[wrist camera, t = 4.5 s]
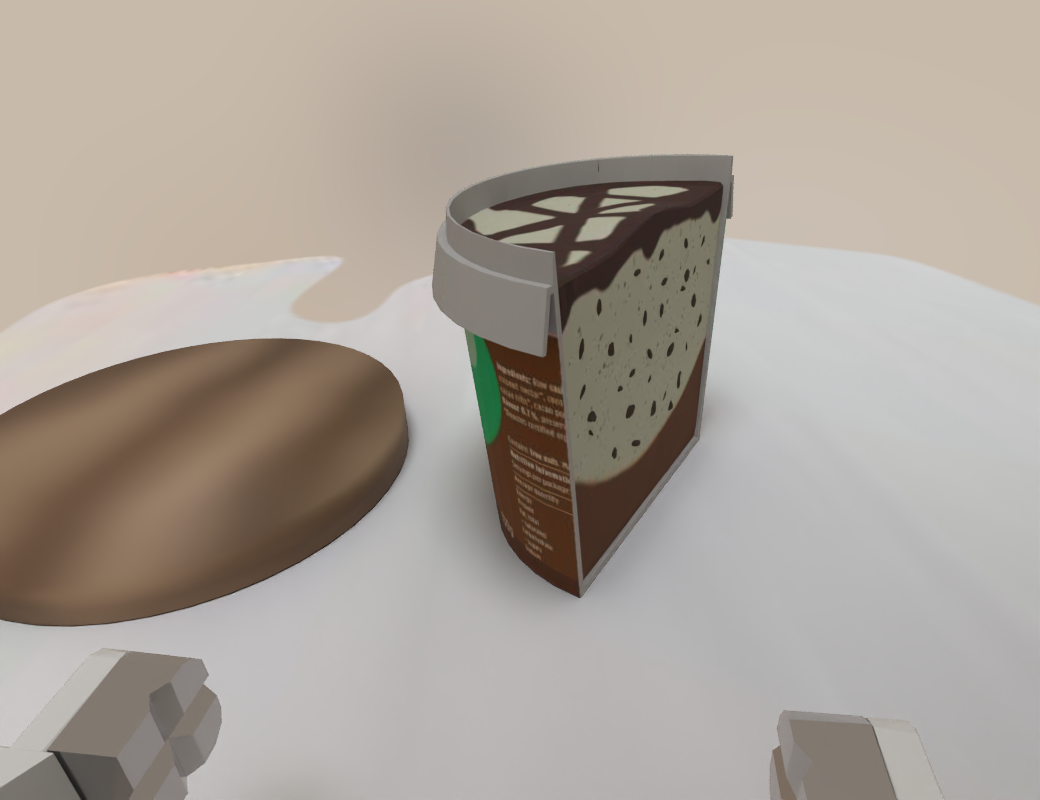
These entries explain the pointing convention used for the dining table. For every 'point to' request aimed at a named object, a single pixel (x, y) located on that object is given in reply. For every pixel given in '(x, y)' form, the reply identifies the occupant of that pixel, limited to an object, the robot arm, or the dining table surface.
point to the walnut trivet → (189, 475)
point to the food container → (585, 339)
